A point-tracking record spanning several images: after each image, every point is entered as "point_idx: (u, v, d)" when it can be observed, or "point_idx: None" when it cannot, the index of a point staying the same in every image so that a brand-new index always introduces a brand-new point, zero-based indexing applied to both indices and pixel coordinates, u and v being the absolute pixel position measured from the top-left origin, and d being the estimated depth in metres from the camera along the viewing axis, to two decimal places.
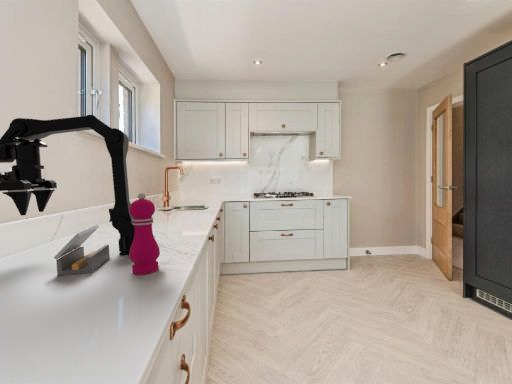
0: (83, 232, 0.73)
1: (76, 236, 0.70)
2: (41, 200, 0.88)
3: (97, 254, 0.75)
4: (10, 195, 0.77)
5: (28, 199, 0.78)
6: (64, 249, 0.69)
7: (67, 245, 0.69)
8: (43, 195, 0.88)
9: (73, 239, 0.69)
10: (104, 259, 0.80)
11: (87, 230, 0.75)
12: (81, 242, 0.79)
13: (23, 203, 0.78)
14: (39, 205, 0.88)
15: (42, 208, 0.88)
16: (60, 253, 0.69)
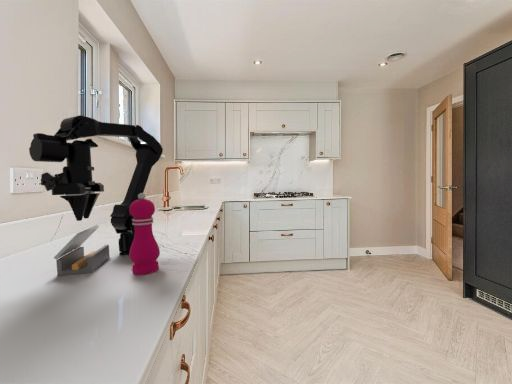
0: (83, 232, 0.73)
1: (76, 236, 0.70)
2: (86, 205, 0.78)
3: (97, 254, 0.75)
4: (67, 199, 0.71)
5: (85, 203, 0.73)
6: (64, 249, 0.69)
7: (67, 245, 0.69)
8: (88, 200, 0.79)
9: (73, 239, 0.69)
10: (104, 259, 0.80)
11: (87, 230, 0.75)
12: (81, 242, 0.79)
13: (80, 208, 0.73)
14: (84, 211, 0.78)
15: (87, 214, 0.78)
16: (60, 253, 0.69)
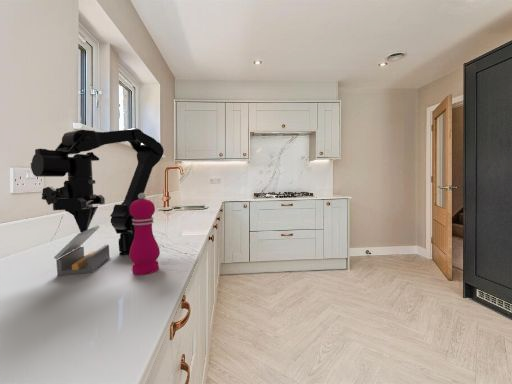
0: (84, 233, 0.73)
1: (77, 236, 0.70)
2: None
3: (97, 254, 0.75)
4: (72, 212, 0.73)
5: (89, 216, 0.75)
6: (64, 249, 0.69)
7: (67, 245, 0.69)
8: None
9: (74, 239, 0.69)
10: (104, 259, 0.80)
11: (88, 231, 0.75)
12: (81, 242, 0.79)
13: (84, 221, 0.75)
14: None
15: None
16: (60, 253, 0.69)
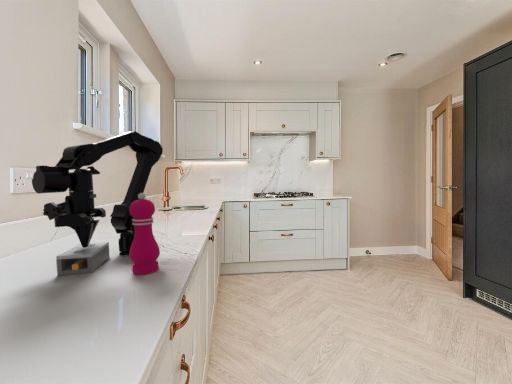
0: (95, 252, 0.73)
1: (88, 255, 0.70)
2: None
3: (97, 254, 0.75)
4: (74, 227, 0.74)
5: (91, 231, 0.75)
6: (69, 257, 0.69)
7: (75, 256, 0.70)
8: None
9: (84, 255, 0.70)
10: (104, 259, 0.80)
11: (99, 249, 0.76)
12: None
13: (86, 235, 0.75)
14: None
15: None
16: (64, 257, 0.69)
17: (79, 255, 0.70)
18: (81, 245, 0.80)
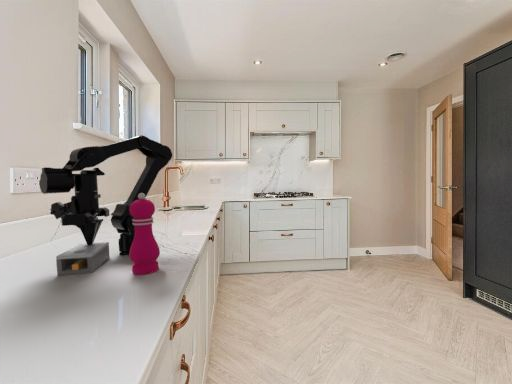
0: (95, 252, 0.73)
1: (88, 255, 0.70)
2: None
3: (97, 254, 0.75)
4: (79, 226, 0.77)
5: (95, 229, 0.79)
6: (69, 257, 0.69)
7: (75, 256, 0.70)
8: None
9: (84, 255, 0.70)
10: (104, 259, 0.80)
11: (99, 249, 0.76)
12: None
13: (91, 234, 0.79)
14: None
15: None
16: (64, 257, 0.69)
17: (79, 255, 0.70)
18: (81, 245, 0.80)
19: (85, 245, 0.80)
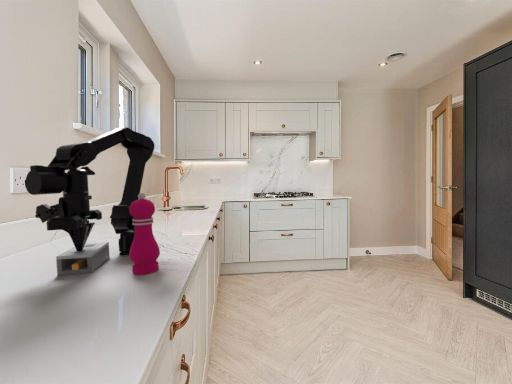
0: (95, 252, 0.73)
1: (88, 255, 0.70)
2: None
3: (97, 254, 0.75)
4: (67, 230, 0.70)
5: (85, 234, 0.72)
6: (69, 257, 0.69)
7: (75, 256, 0.70)
8: None
9: (84, 255, 0.70)
10: (104, 259, 0.80)
11: (99, 249, 0.76)
12: None
13: (80, 239, 0.72)
14: None
15: None
16: (64, 257, 0.69)
17: (79, 255, 0.70)
18: None
19: (85, 245, 0.80)
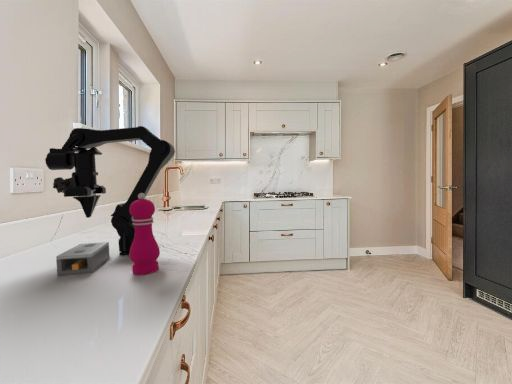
0: (95, 252, 0.73)
1: (88, 255, 0.70)
2: None
3: (97, 254, 0.75)
4: (79, 199, 0.86)
5: (93, 203, 0.88)
6: (69, 257, 0.69)
7: (75, 256, 0.70)
8: None
9: (84, 255, 0.70)
10: (104, 259, 0.80)
11: (99, 249, 0.76)
12: None
13: (89, 207, 0.87)
14: None
15: None
16: (64, 257, 0.69)
17: (79, 255, 0.70)
18: (81, 245, 0.80)
19: (85, 245, 0.80)
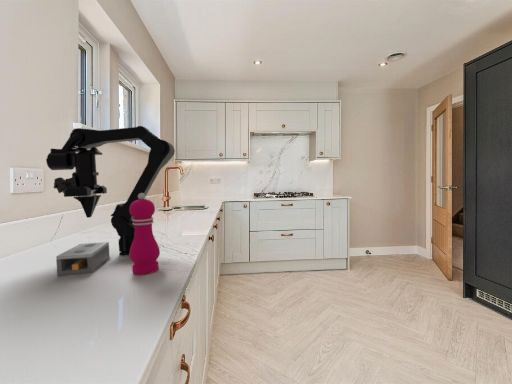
0: (95, 252, 0.73)
1: (88, 255, 0.70)
2: None
3: (97, 254, 0.75)
4: (79, 199, 0.86)
5: (94, 203, 0.88)
6: (69, 257, 0.69)
7: (75, 256, 0.70)
8: None
9: (84, 255, 0.70)
10: (104, 259, 0.80)
11: (99, 249, 0.76)
12: None
13: (90, 207, 0.88)
14: None
15: None
16: (64, 257, 0.69)
17: (79, 255, 0.70)
18: (81, 245, 0.80)
19: (85, 245, 0.80)
